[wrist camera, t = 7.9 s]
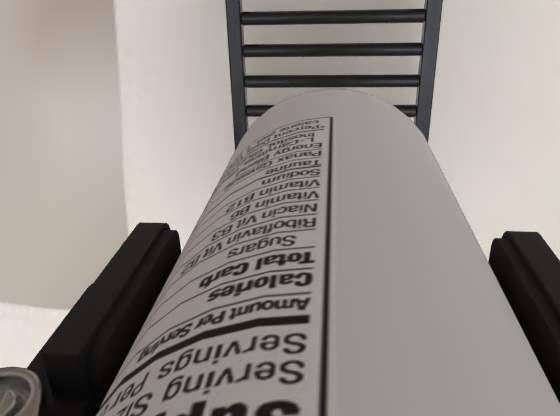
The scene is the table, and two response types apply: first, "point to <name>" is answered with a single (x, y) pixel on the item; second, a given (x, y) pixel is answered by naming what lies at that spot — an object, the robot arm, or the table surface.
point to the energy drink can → (331, 285)
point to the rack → (240, 50)
